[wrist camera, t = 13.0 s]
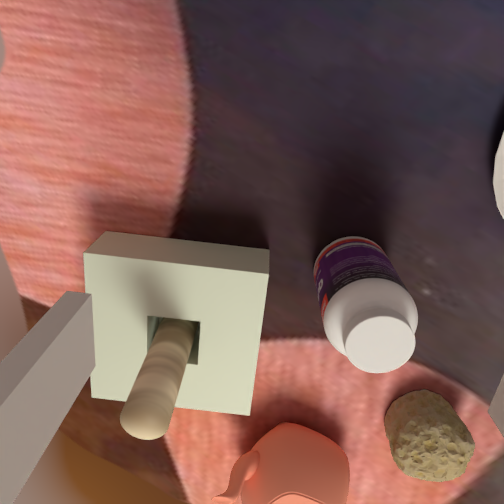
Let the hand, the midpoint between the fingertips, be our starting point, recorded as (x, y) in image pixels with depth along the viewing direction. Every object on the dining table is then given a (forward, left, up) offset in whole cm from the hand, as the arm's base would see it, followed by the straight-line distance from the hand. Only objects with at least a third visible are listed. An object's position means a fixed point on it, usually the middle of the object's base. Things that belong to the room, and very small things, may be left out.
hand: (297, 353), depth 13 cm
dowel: (+19, -9, -31) cm, 37 cm away
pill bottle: (+11, +9, -32) cm, 35 cm away
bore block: (+19, -9, -32) cm, 38 cm away
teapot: (+39, +6, -32) cm, 51 cm away
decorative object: (+31, +22, -32) cm, 50 cm away
